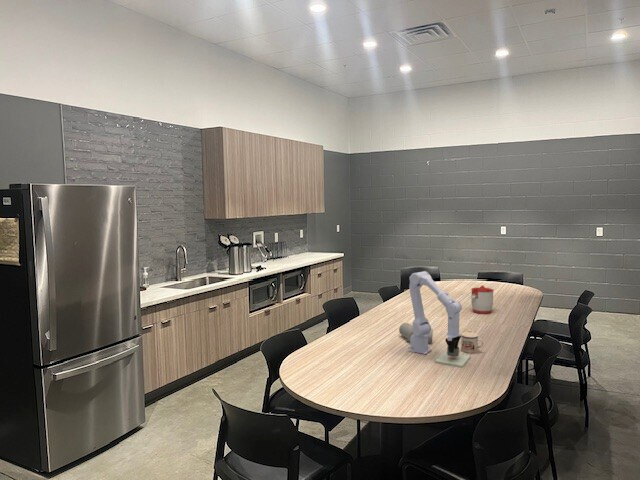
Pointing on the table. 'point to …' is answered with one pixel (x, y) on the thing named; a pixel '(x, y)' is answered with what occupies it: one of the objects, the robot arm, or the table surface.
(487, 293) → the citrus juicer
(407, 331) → the bent grey cylinder
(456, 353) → the collar
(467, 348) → the teacup with lid
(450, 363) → the pegged green plate
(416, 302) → the robot arm
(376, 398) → the table surface
